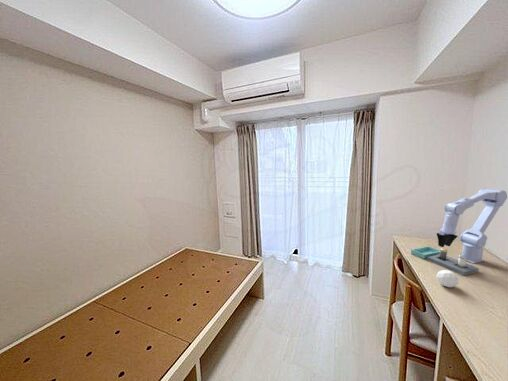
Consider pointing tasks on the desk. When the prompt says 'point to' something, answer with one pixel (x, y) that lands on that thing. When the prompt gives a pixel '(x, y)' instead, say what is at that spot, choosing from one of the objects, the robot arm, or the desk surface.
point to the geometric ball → (447, 278)
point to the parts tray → (425, 252)
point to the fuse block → (453, 265)
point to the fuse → (461, 261)
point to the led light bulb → (443, 254)
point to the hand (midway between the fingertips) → (444, 246)
